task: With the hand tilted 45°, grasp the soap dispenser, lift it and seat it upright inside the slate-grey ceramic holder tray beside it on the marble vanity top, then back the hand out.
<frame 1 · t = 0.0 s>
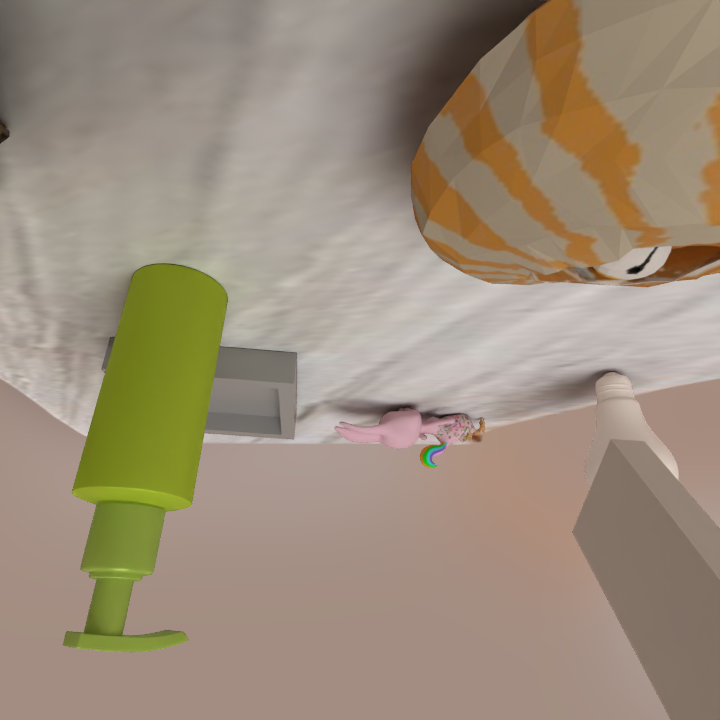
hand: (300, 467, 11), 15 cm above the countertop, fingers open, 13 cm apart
soap dispenser: (188, 292, 33), on the countertop
nautilus: (687, 102, 20), on the countertop
rabbit figure: (411, 407, 51), on the countertop
holder tray: (217, 381, 46), on the countertop
lightbulb: (609, 371, 41), on the countertop
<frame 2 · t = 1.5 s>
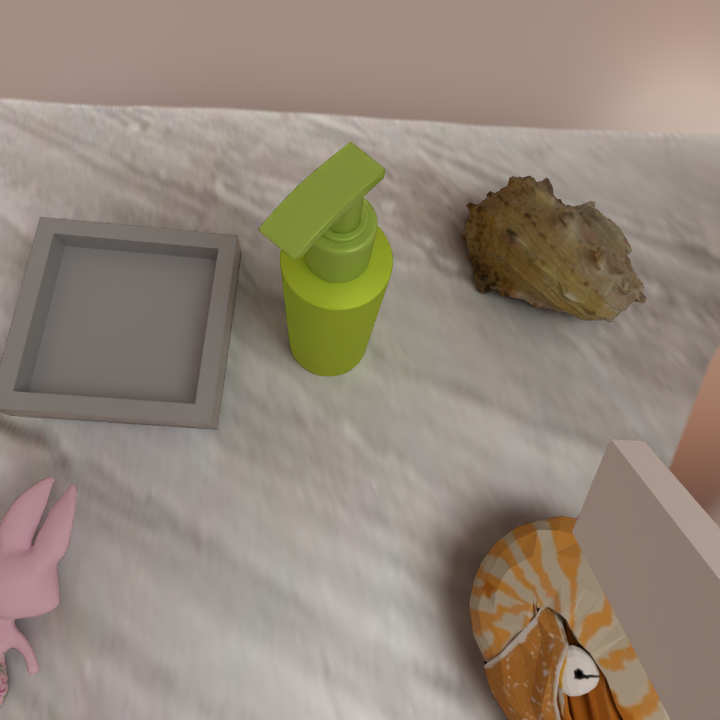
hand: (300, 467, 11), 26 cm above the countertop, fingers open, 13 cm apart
soap dispenser: (323, 344, 39), on the countertop
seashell: (533, 269, 43), on the countertop
nautilus: (551, 688, 34), on the countertop
rabbit figure: (27, 598, 33), on the countertop
holder tray: (134, 328, 38), on the countertop
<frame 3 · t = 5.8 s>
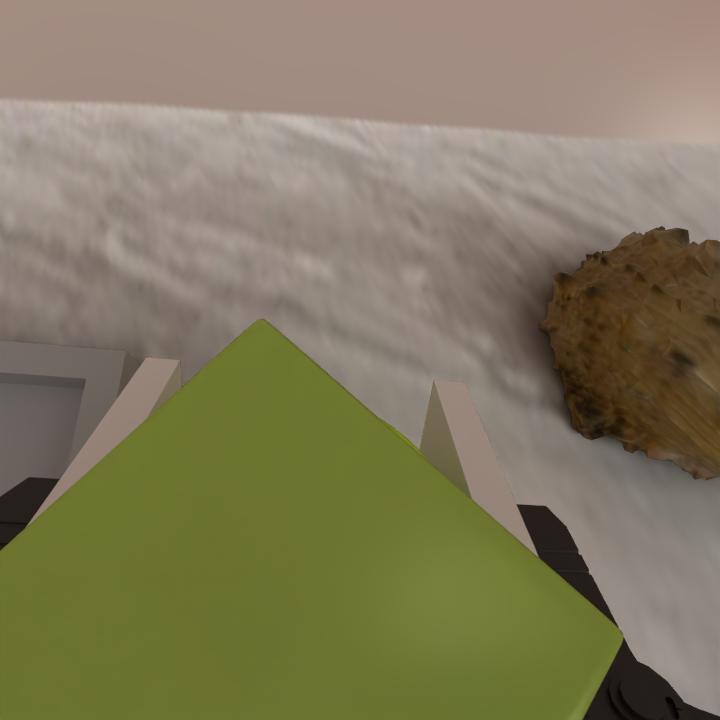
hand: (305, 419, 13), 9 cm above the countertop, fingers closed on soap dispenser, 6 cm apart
soap dispenser: (296, 553, 21), on the countertop, touching gripper
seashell: (664, 384, 25), on the countertop
when the fingers open (12 cm above the countertop, at t = 11.0 s): soap dispenser drops 2 cm, resting on holder tray.
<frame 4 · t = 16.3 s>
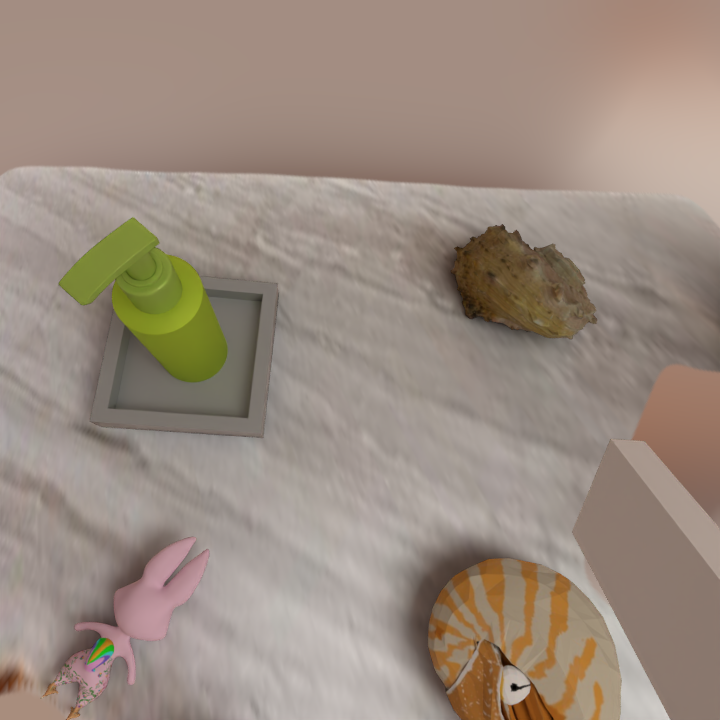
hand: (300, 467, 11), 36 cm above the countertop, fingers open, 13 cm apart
soap dispenser: (190, 355, 47), point 1 cm above the countertop, touching holder tray
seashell: (510, 296, 53), on the countertop
nautilus: (506, 692, 43), on the countertop
rabbit figure: (140, 617, 41), on the countertop
holder tray: (195, 357, 48), on the countertop
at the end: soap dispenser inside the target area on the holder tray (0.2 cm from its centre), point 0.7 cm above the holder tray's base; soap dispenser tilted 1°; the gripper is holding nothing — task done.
